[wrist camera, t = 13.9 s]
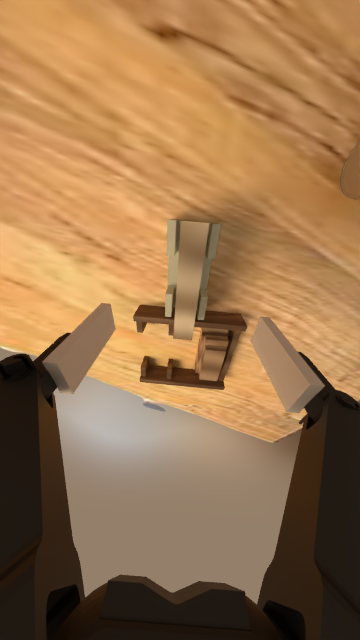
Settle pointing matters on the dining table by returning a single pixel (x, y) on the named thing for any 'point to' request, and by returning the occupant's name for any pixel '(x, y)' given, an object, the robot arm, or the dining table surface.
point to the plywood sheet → (189, 276)
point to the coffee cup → (352, 174)
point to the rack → (210, 352)
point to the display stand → (173, 254)
